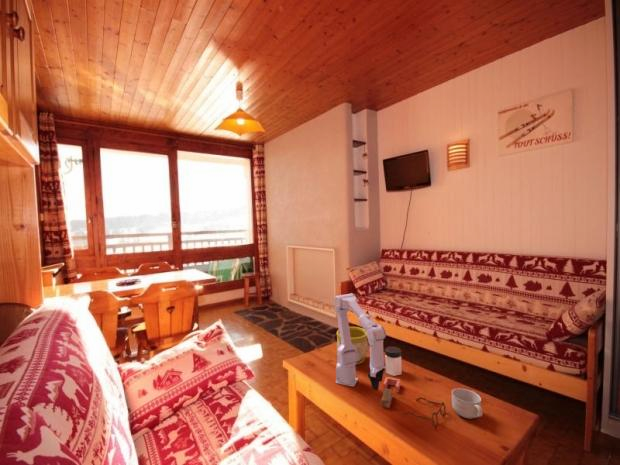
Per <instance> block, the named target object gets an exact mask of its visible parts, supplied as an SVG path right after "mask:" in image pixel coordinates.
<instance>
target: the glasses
mask: <svg viewBox="0 0 620 465" xmlns="http://www.w3.org/2000/svg"><path fill="white" fill-rule="evenodd" d="M420 400H422V401H423V400H424V401H425V402H427V403H429V404H434V405H438V406H439V408H438V409H437V411H436V412H435V411H434V412H433V413H432V415H431V417H427V416H422V415H418V414H416V413H415V412H412V411H409V410H408V411H405V412H404V413H402V415H403V416H406V415H407V414H410V415H413V416H415V417H416V418H418V419H419V418H420V419H423V420H427V421H431V423H432V426H433V427H437V425H438V423H439V418H438V416H439V415H438V414H440V415H441V416H443V417H444V416H445V414H446V405H445V403H444V402H436V401H432V400H428V399H427V398H424V397H421V396H420V397H419V398H417V399H415V401H416V402H418V401H420ZM442 406H443V411H442ZM434 416H435V418H436V420H435V423H434Z"/></svg>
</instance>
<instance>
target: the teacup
mask: <svg viewBox="0 0 620 465" xmlns="http://www.w3.org/2000/svg"><path fill="white" fill-rule="evenodd" d="M451 405H452V409H453V410H454V411H455V412H456V414H458V415H459V416H460V417H463V418H465V419H472V420H473V419H476V418H481V417H482V416H483V415H484V414H483V413H484V412H483V409H482V397H481V396H480V395H479V394H478V393H476V391H473V390H470V389H466V388H460V387H459V388H454V389H452V390H451Z"/></svg>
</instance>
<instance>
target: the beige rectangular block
mask: <svg viewBox="0 0 620 465" xmlns="http://www.w3.org/2000/svg"><path fill="white" fill-rule="evenodd" d="M392 399H393V389H392V388H387V389H386V388H385V390H383V394H382V398H381V407H382V408H386V409H390V408H391V404H392Z"/></svg>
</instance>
